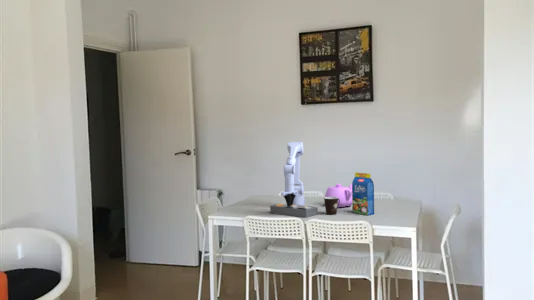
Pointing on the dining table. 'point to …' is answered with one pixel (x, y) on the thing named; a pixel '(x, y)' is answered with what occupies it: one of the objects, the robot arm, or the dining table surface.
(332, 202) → the coffee mug
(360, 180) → the blue food package
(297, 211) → the power strip
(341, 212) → the dining table surface
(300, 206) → the rocker outlet
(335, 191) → the teapot
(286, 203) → the outlet rocker
